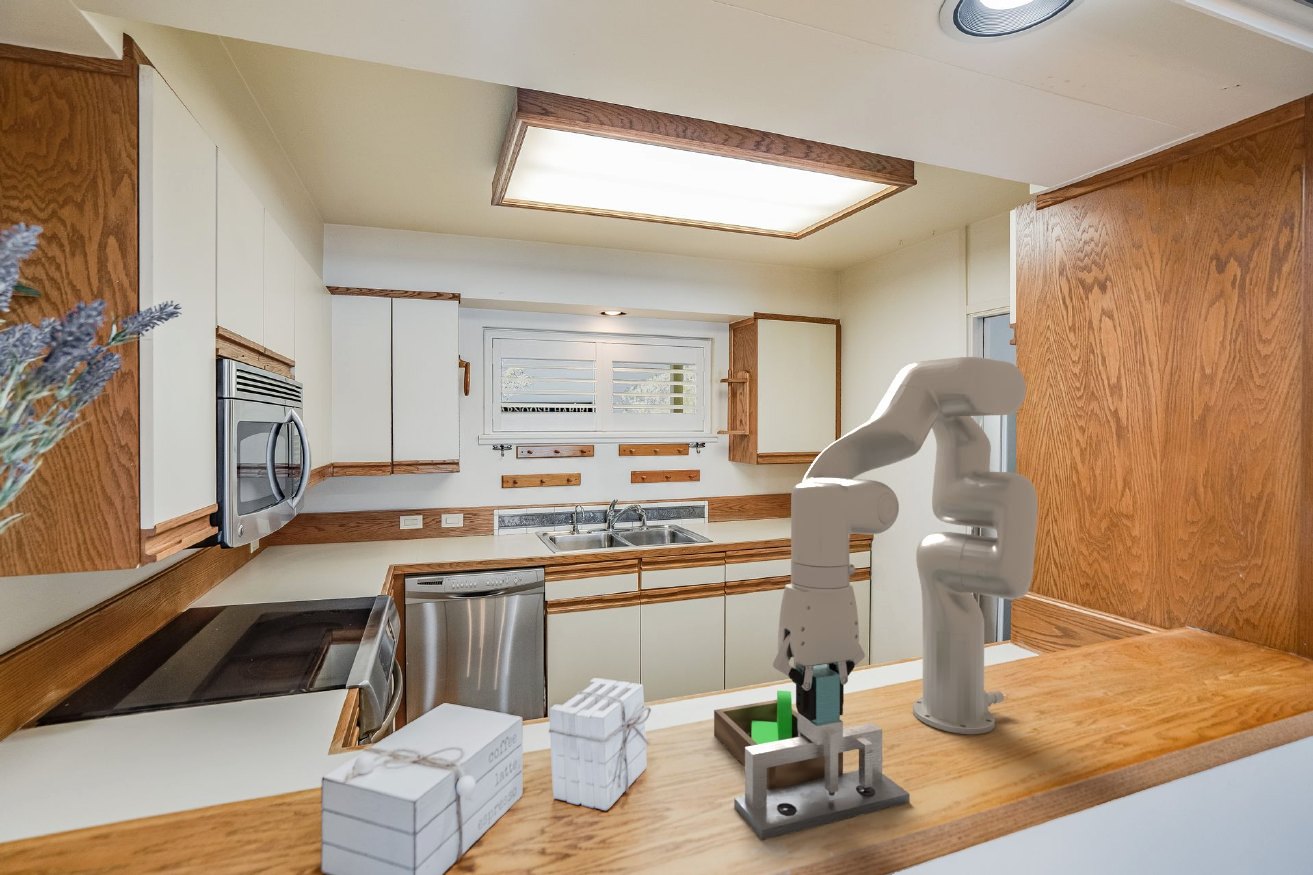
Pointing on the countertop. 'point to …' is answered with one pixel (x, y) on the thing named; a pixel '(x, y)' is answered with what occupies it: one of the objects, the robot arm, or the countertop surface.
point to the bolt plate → (819, 804)
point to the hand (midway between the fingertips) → (819, 712)
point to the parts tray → (733, 736)
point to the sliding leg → (825, 721)
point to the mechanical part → (775, 730)
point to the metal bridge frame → (802, 749)
